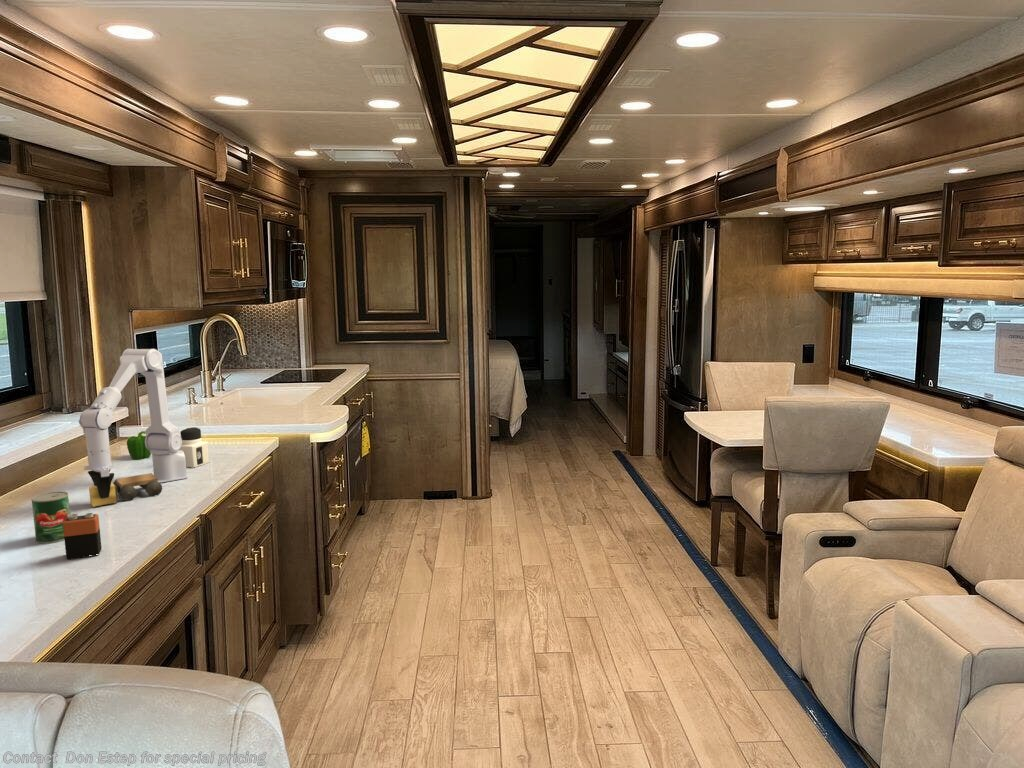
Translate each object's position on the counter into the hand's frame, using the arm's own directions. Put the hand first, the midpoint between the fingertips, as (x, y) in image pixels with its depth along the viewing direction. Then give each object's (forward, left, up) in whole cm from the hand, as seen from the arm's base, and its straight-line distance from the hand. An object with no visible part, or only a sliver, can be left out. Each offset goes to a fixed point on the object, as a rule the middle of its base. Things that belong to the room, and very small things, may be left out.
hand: (103, 495), depth 212 cm
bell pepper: (-21, -54, -3) cm, 58 cm away
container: (-33, -31, -3) cm, 45 cm away
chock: (0, 0, -2) cm, 2 cm away
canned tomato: (+15, +23, -3) cm, 28 cm away
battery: (+11, +41, -3) cm, 43 cm away
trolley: (-10, -5, -3) cm, 11 cm away
